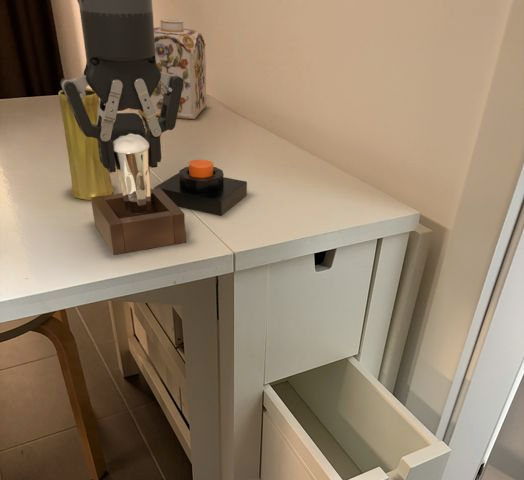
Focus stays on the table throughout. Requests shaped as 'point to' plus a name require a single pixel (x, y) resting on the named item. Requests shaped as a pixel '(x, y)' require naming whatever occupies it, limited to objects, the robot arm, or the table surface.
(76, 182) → the vase
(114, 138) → the carrying case
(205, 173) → the button
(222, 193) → the confirm box
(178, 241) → the socket
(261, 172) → the table surface
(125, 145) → the milkshake
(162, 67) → the decorative jar
